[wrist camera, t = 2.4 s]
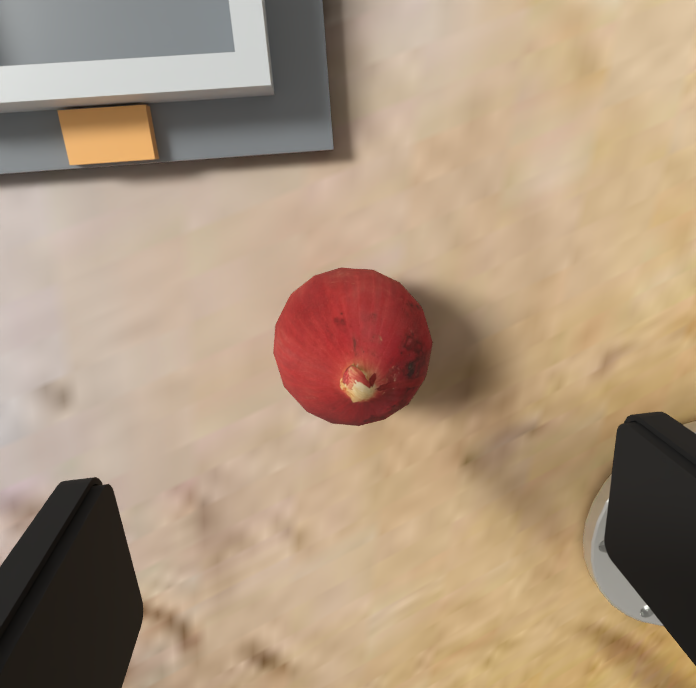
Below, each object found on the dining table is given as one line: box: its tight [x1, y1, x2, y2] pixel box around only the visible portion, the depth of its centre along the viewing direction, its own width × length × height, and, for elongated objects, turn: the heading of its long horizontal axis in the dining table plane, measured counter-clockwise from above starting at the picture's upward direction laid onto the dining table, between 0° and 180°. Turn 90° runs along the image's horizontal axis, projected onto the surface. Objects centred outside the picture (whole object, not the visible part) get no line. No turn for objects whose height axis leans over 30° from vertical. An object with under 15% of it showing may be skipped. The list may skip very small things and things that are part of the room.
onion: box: [273, 268, 433, 426], centre depth 19 cm, size 6×6×8 cm
